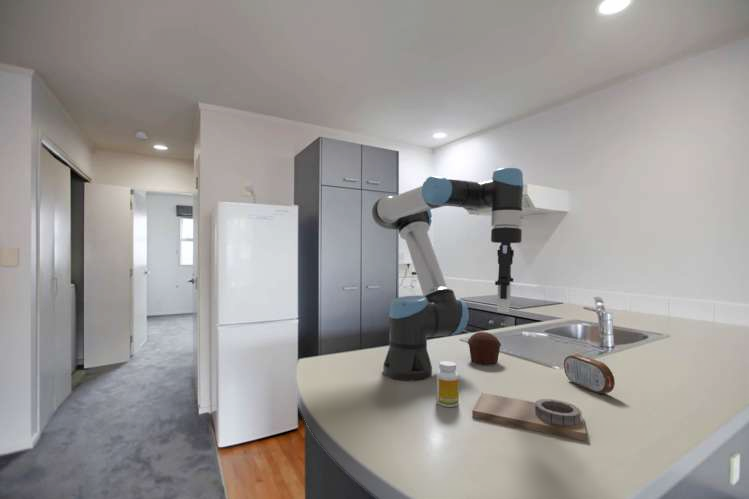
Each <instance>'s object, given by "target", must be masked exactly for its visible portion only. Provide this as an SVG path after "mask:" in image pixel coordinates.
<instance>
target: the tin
mask: <svg viewBox="0 0 749 499" xmlns="http://www.w3.org/2000/svg"><path fill="white" fill-rule="evenodd" d="M563 369H564V373H565V375H566V377H567V379H568V380H569V381H570V382H571V383H572V384H575V385H576V386H579V387H581V388H583V389H585V390H588V391H590V392H593V393H596V394H599V395H600V394H601V395H602V394H609V393H611V392H612V391H613V390H614V388H615V385H616V384H615V377H614V374H613V372H612V370H611V369H610V367H609V366H608V365H606V364H605V363H604V362H602V361H600V360H596V359H593V358H590V357H587V356H585V355H582V354H579V353H576V354H571V355H568V356H566V357H565V358H564V360H563Z"/></svg>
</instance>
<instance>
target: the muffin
mask: <svg viewBox="0 0 749 499" xmlns="http://www.w3.org/2000/svg"><path fill="white" fill-rule="evenodd" d="M467 344H468V347H469V354H470V360H471V361H470V362H472V363H473V362H474V364H476V365H480V364H481V366H494V365H497V364H498V361H499V355H500V349H501V347H502V343H501V341H499V339H498V337H496V336H495V335H494V334H492V333H489V332H487V331H480V332H479V331H478V332H475V333H474V334H471V336H470V337H469V339H468V340H467Z"/></svg>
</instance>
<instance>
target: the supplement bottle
mask: <svg viewBox="0 0 749 499" xmlns="http://www.w3.org/2000/svg"><path fill="white" fill-rule="evenodd" d="M438 366H439V370H438V371H437V372H436V385H435V387H436V392H435V393H436V396H435V400H436V404H438V405H439V406H442V407H445V408H455V407H457V406H458V405H459V399H460V397H459V396H460V395H459V392H460V390H459V389H460V388H459V386H460V383H459V382H460V380H459V379H460V375H459V373H458V372H457V371H456V370H457V364H456V362H454V361H447V360H444V361H440V362H439V365H438Z"/></svg>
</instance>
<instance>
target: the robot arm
mask: <svg viewBox="0 0 749 499" xmlns="http://www.w3.org/2000/svg"><path fill="white" fill-rule="evenodd" d="M492 173H493V174H492V177H491V180H488V181H483V182H479V181H478V182H477V181H472V180H471V181H470V180H463V179H457V178H452V177H446V176H443V175H442V176H441V175H439V176H436V175H435V176H429V177H427V178H426V179H425V181H424V182H422V185H421V186H418V187H416V188H413V189H410V190H407V191H405V192H401V193H400V194H396V195H394V196H391V195H386V196H384V197H383V196H382V197H381V198H379V199H378V200H376V201H375V202H374V204H373V205H372V208H371V216H372V219H373V221H374V222H375V223H376V224H377V225H378V226H379V227H381V228H383V229H386V230H387V229H388V230H396V231H398V233H399V236H400V238H401V239H402V240H405V242H406V243H405V244H406V245H407V248H408V252H409V255H410V257H411V261H412V265H413V267H414V271H415V274H416V278H417V281H418V283H419V286H420V289H421V293H422V295H413V296H411V295H407V296H402V297H397V298H395V299H393V300H392V301H391V302H390V306H389V314H388V316H389V337H388V338H389V339H388V340H389V341H388V344H389V346H388V350H387V353H386V356H385V358H384V362H383V365H382V366H383V367H382V368H383V371H382V372H383V374H384V375H385V376H387V377H389V378H392V379H395V380H399V381H400V380H401V381H421V380H426V379H429V378H431V377H432V375H433V365H432V361H431V358H430V355H429V352H428V344H427V343H428V342H427V341H428V338H434V337H442V336H447V337H448V336H449V337H451V336H453V335H458V334H460V333H462V332H464V330H465V329H466V328H467V325H468V321H469V309H468V306H467V304H466V302H465V301H464V300H462V299H460V298H456V295H455V292H454V290H453V289H451V288H450V287H448V286H447V284H446V280H445V277H444V274H443V272H442V270H441V267H440V264H439V261H438V259H437V256H436V253H435V250H434V247H433V244H432V242H431V238H430V236H429V233H428V232H429V230H430V227H431V224H432V221H433V220H432V219H431V218H433V217H432V216H433V215H432V210H434V209H438V208H442V207H455V208H463V209H464V210H466V211H475V212H476V211H478V210H485V209H491V222H490V223H491V227H493V228H492V229H491V230H490V231H491V234H490V241H491V243H494V244H500V245H499V248H498V249H497V251H496V252H497V264H498V276H497V277H498V278H497V280H494V281H495V282H494V285H495V286H497V307H496V310H497V311H496V312H498V313H506V314H507V313H509V314H510V306H511V295H512V294H511V291H512V290H511V289H512V287H511V286H512V283H513V282H514V278H513V277H512V275H511V274H512V269H511V268H512V265H513V260H514V254H515V252H514V249H513V248H512V244H519V243H521V242H522V235H523V234H522V232H523V230H522V229H521V228H520V227H522V224H523V223H522V221H523V220H522V219H525V215H524V214H523V197H524V196H523V195H524V179H523V178H524V177H523V176H524V175H523V171H522V170H521V169H519V168H517V167H502V168H498V169H495V170H494V171H493V172H492Z"/></svg>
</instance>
